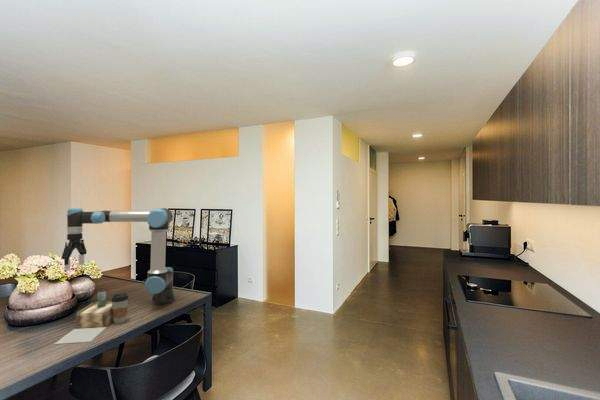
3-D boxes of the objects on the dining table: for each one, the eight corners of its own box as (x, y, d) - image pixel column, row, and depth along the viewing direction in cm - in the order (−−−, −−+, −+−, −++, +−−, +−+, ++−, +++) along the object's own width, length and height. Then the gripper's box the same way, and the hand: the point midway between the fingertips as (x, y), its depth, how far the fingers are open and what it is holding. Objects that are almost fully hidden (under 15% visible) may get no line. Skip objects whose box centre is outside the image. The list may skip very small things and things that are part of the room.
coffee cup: (110, 325, 160) (110, 298, 160) (112, 320, 167) (112, 294, 167) (127, 323, 163) (127, 296, 163) (128, 317, 171) (128, 292, 171)
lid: (115, 304, 172) (116, 290, 172) (104, 314, 158) (104, 297, 158) (93, 306, 170) (94, 290, 170) (80, 315, 156) (80, 298, 156)
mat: (106, 327, 157) (106, 327, 157) (90, 342, 141) (90, 341, 141) (74, 329, 154) (74, 329, 154) (54, 344, 138) (54, 343, 138)
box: (119, 315, 174) (119, 301, 174) (106, 327, 158) (106, 311, 158) (92, 316, 171) (92, 302, 171) (76, 328, 155) (76, 313, 155)
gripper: (80, 231, 190) (80, 262, 190) (53, 235, 165) (53, 272, 165) (93, 230, 191) (92, 262, 191) (68, 235, 166) (67, 272, 166)
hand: (74, 267), depth 178 cm, fingers open, 13 cm apart
